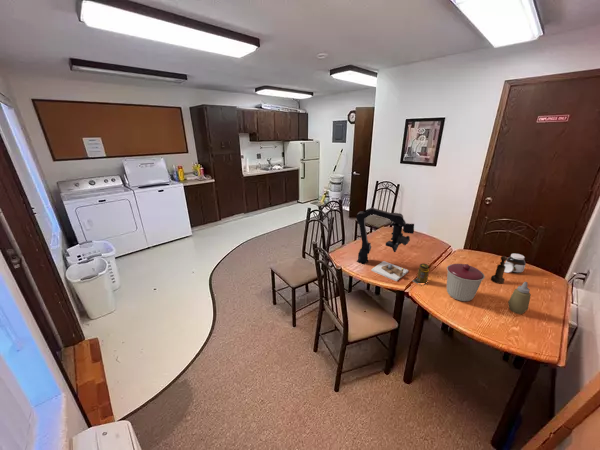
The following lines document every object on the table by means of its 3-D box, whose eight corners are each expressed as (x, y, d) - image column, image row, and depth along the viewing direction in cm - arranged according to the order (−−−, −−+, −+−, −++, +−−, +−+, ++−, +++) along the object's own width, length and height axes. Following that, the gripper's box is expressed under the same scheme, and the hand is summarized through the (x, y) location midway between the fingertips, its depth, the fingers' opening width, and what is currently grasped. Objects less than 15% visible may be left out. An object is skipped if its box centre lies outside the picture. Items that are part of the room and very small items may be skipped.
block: (381, 268, 172) (381, 264, 171) (389, 265, 175) (390, 261, 174) (396, 277, 160) (397, 273, 159) (405, 274, 163) (405, 270, 162)
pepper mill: (501, 279, 158) (508, 254, 151) (505, 284, 152) (513, 259, 146) (489, 277, 160) (496, 253, 154) (492, 282, 154) (500, 258, 148)
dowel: (400, 273, 166) (401, 268, 164) (401, 272, 166) (402, 267, 165) (402, 273, 165) (403, 268, 163) (403, 273, 166) (403, 268, 164)
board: (371, 270, 172) (371, 264, 170) (383, 262, 182) (384, 256, 181) (396, 281, 158) (397, 274, 157) (408, 271, 169) (409, 265, 167)
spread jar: (522, 270, 166) (528, 255, 162) (522, 277, 159) (527, 262, 154) (500, 265, 174) (505, 250, 170) (499, 271, 166) (503, 256, 162)
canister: (436, 286, 152) (442, 257, 144) (465, 286, 151) (473, 256, 144) (452, 305, 135) (459, 273, 128) (485, 305, 134) (495, 273, 127)
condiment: (429, 282, 157) (432, 265, 153) (422, 286, 153) (425, 270, 149) (419, 277, 163) (421, 261, 159) (411, 281, 158) (414, 265, 154)
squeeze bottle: (502, 306, 133) (511, 278, 127) (516, 305, 134) (525, 277, 128) (515, 316, 126) (526, 287, 120) (530, 315, 126) (541, 286, 120)
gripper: (402, 238, 155) (399, 260, 161) (414, 231, 167) (411, 251, 172) (386, 234, 163) (384, 254, 168) (399, 227, 175) (396, 246, 180)
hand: (394, 251), depth 172 cm, fingers closed
